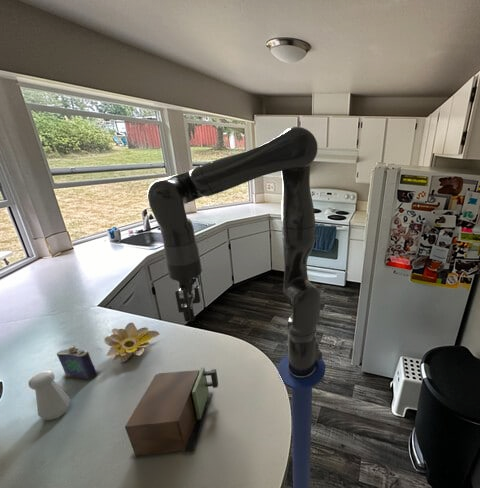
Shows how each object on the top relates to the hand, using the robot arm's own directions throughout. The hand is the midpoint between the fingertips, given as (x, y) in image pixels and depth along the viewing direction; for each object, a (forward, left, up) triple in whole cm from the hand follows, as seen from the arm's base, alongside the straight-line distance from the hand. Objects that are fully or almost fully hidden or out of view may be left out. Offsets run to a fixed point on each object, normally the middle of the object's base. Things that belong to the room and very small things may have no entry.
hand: (193, 311), depth 70 cm
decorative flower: (+17, -25, -25) cm, 39 cm away
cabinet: (+10, +10, -25) cm, 28 cm away
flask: (+30, -23, -25) cm, 45 cm away
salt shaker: (+34, -11, -25) cm, 44 cm away
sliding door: (+1, +11, -24) cm, 27 cm away
